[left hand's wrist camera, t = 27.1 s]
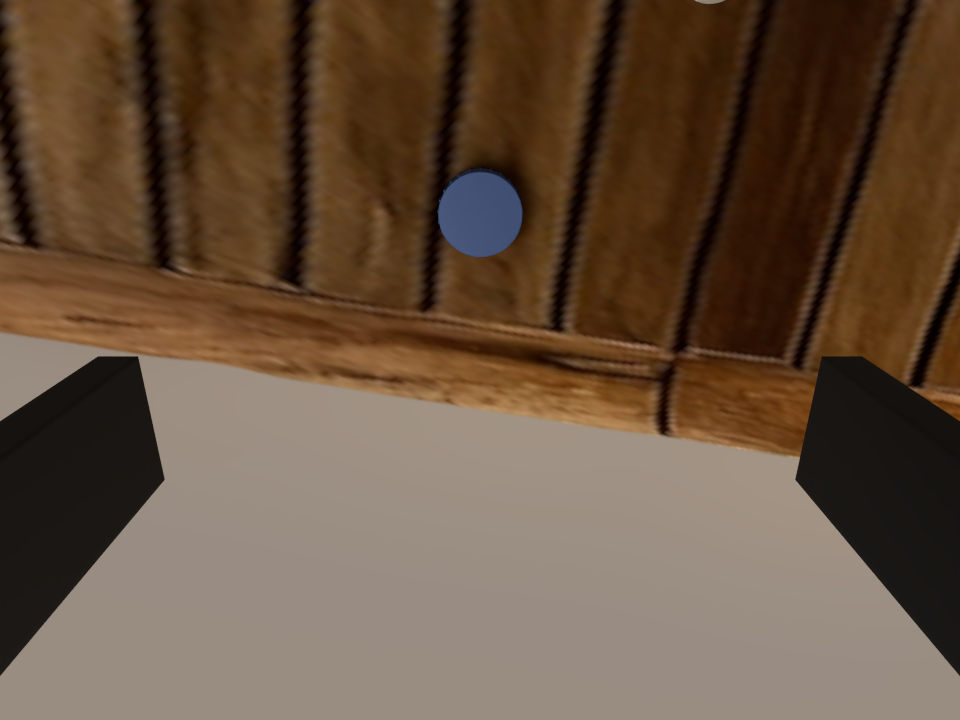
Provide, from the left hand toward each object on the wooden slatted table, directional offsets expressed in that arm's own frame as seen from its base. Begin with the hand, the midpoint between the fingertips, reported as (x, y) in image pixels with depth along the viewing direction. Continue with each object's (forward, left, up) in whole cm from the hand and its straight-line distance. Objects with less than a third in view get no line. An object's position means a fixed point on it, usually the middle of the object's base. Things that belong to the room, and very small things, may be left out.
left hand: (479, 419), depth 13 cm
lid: (0, 0, -27) cm, 27 cm away
